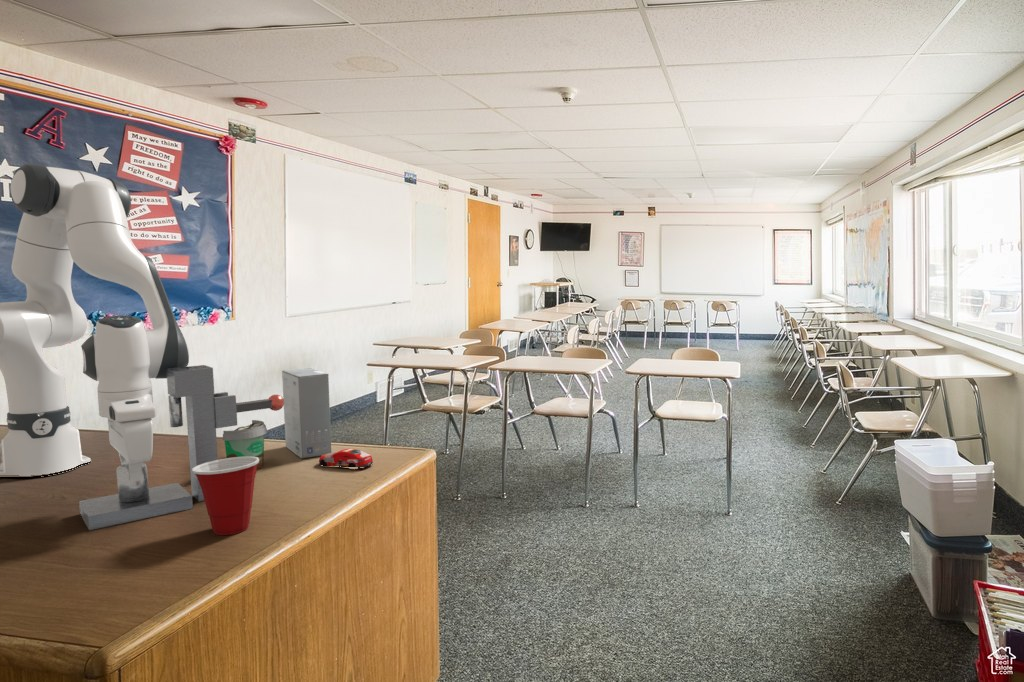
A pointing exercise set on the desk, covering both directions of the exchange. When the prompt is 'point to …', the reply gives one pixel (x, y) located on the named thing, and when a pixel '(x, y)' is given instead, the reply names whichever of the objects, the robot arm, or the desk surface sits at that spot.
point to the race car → (346, 458)
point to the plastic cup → (228, 492)
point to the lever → (261, 404)
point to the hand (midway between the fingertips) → (131, 476)
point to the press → (201, 424)
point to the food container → (246, 442)
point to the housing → (132, 484)
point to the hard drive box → (307, 412)
